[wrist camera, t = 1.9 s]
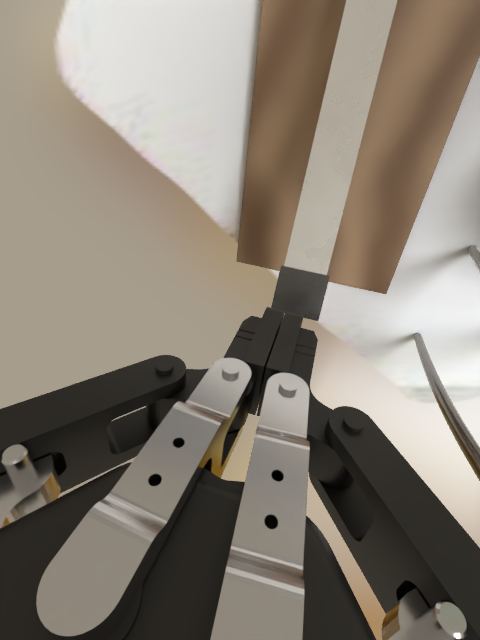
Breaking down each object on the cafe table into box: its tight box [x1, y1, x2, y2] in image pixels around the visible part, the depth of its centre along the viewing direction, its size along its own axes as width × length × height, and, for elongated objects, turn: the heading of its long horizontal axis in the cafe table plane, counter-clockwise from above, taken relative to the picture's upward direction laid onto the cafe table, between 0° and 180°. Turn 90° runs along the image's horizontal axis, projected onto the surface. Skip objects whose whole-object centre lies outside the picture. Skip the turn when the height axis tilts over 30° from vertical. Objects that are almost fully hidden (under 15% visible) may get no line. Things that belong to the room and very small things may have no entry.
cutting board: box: [237, 0, 480, 294], centre depth 29 cm, size 16×28×2 cm, turn 174°
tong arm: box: [271, 0, 397, 321], centre depth 23 cm, size 4×24×1 cm, turn 174°
